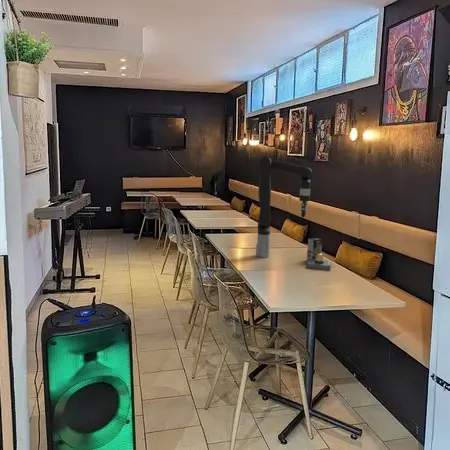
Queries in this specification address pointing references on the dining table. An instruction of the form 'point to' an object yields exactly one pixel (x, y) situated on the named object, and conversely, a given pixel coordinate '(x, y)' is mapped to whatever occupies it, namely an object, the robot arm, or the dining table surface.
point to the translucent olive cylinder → (319, 258)
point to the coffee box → (314, 248)
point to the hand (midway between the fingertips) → (303, 216)
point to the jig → (319, 264)
